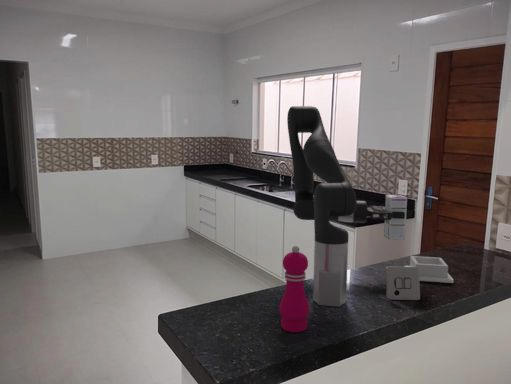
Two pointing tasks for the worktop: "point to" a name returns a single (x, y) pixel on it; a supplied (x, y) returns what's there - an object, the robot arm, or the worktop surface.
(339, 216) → the robot arm
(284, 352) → the worktop surface
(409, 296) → the electrical switch
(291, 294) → the pepper mill
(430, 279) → the socket plate
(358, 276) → the worktop surface
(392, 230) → the syrup box
